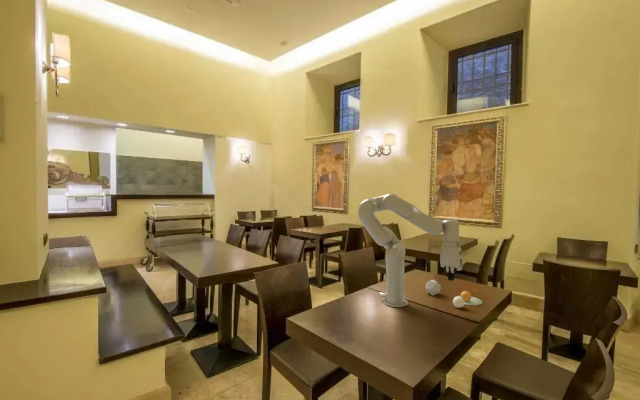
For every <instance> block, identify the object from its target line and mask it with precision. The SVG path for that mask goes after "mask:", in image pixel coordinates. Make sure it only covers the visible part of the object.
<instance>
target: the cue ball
mask: <svg viewBox="0 0 640 400" xmlns="http://www.w3.org/2000/svg"><path fill="white" fill-rule="evenodd" d="M454 297H455V298H454ZM454 297H453V299H452V304H453V305H454V307H456V308H457V309H458V308H459V309H461V308H463V307H464V306H465V305H466V304H465V302H464V300H463V298H461V297H456V296H454Z"/></svg>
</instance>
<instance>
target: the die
mask: <svg viewBox="0 0 640 400" xmlns="http://www.w3.org/2000/svg"><path fill="white" fill-rule="evenodd" d="M441 287H442V285H441V284H440V283H439V282H437V281H436V280H435V279H431V280H428V281H427V282H426V284H425V288H424V289H425V291H426V292H427V293H428V294H430V295H431V296H435V295H438V294H439V293H440V292H441Z"/></svg>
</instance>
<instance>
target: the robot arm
mask: <svg viewBox="0 0 640 400" xmlns="http://www.w3.org/2000/svg"><path fill="white" fill-rule="evenodd" d="M387 210H388V211H390V212H392V213H394V214H396V215H398V216H399V217H401V218H403V219H404V220H406V221H407V222H409V223H411V224H412V225H414V226H415V227H417V228H419V229H420V230H423V231H425V232H426V233H428V234H429V235H432V236H438V235H440V234H441V233H442V245H441V249H440V257H439V261H440V262H439V263H440V268H443V269H445V271H446V273H447V281H450V282H453V281H454V280H455V278H456V274H455V273H456V272H459V271H462V270H463V266H464V258H463V257H464V256H463V251H462V247H461V246H462V245H463V243H462V242H460V221H459V220H457V219H440V218H433V217H431V216H429V215H428V214H426V213H425V212H423V211H422V210H420V209H419V208H418V207H417V206H416V205H414V204H412V203H410V202H409V201H407V200H406V199H405V200H404V199H402V198H401V197H399V196H398V195H397V194H396V193H392V192H391V193H387V194H385V195H379V196H376V197H371V198H365V199H364V200H363V201H361V202H360V205H359V207H358V211H357V213H358V214H357V215H358V218H359V221H360V223H361V224H362V226H363V228H365V229H366V231H367V233H368V234H369V235H370V236H371V238H372V239H373V241H374V242H375V243H376V244H377V245H378V246H380V247H383V248H384V249H385V253H384V254H385V255H384V257H385V276H386V281H385V284H386V288H385V290H386V293H385V292H379V297H380V298H383V304H385V305H386V306H388V307H393V308H403V307H407V306H408V300H407V299H405V255H406V248H405V245H404V244H403V243H402V242H401V241H400V239H399V238H398V236H397V235H396V234H395V233H394V231H393V230H392V229H390V228H388V227H386V226H384V225H383V224H382V223H381V221H380V220H379V218H378V217H377V216H376V215H375V213H379V212H383V211H384V212H385V211H387Z"/></svg>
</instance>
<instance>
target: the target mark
mask: <svg viewBox="0 0 640 400" xmlns="http://www.w3.org/2000/svg"><path fill="white" fill-rule="evenodd" d="M455 297H460V295H457V296H454V297H453V299H454V298H455ZM471 297H472V298H471V300H470V301H468V302H465V301H464V302H465V304H464V305H465V306H466V305H467V306H479V305H482V304H483V301H482V300H481V299H479V298H478V297H474V296H471Z"/></svg>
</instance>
